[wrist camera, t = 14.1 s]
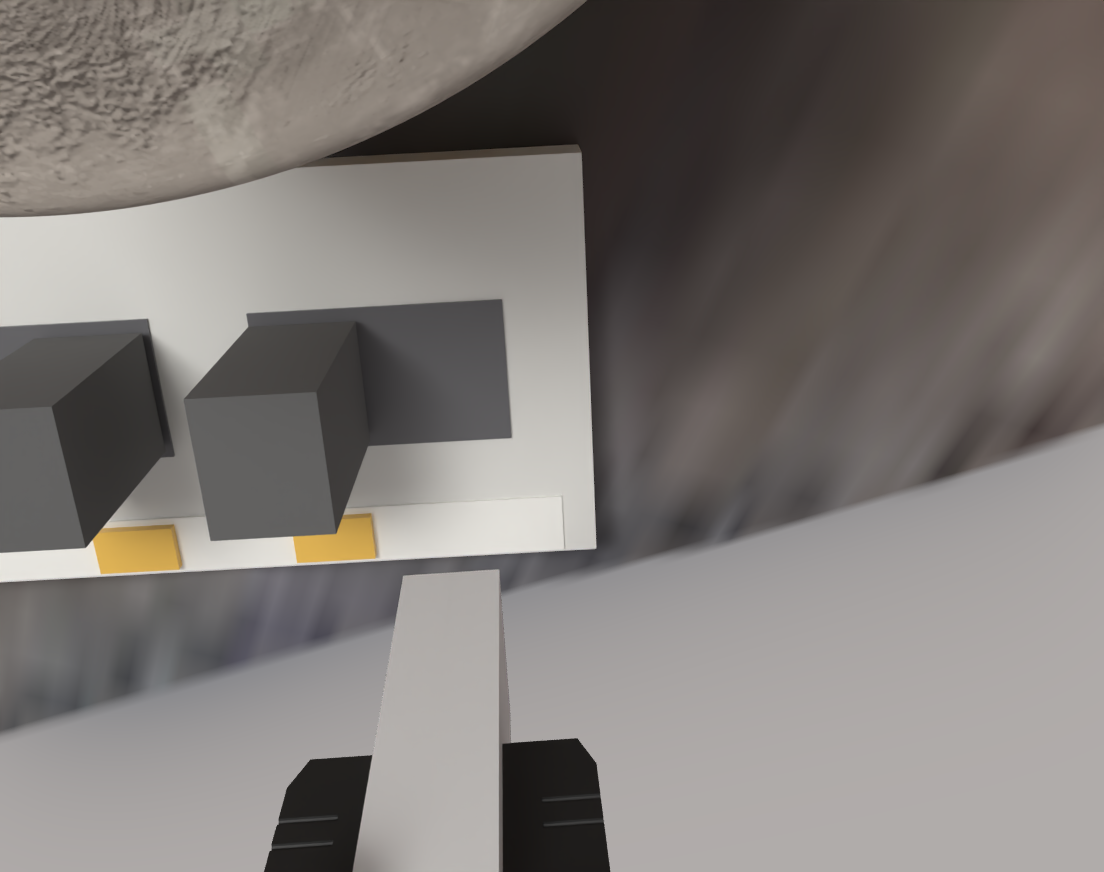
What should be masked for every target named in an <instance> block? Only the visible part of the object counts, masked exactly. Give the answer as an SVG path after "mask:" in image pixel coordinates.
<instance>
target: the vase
mask: <svg viewBox="0 0 1104 872" xmlns="http://www.w3.org/2000/svg"><path fill="white" fill-rule="evenodd" d="M586 1H587V0H0V217H38V216H56V215H70V214H82V213H92V212H101V211H110V210H118V209H125V208H132V207H138V206H145V205H151V204H156V203H162V202H168V201H173V200H178V199H182V198H187V197H192V196H196V195H201V194H205V193H210V192H214V191H218V190H222V189H226V188H230V187H234V186H237V185H241V184H245V183H248V182H252V181H255V180H259V179H262V178H265V177H268V176H272V175H275V174H278V173H281V172H284V171H287V170H290V169H293V168H296V167H299V166H302V165H304V164H307V163H310V162H313V161H315V160H318V159H321V158H323V157H326V156H329V155H331V154H334V153H336V152H339V151H341V150H343V149H346V148H348V147H351V146H353V145H355V144H358V143H360V142H362V141H365V140H367V139H369V138H371V137H373V136H375V135H378V134H380V133H382V132H384V131H386V130H388V129H390V128H392V127H394V126H397V125H399V124H401V123H403V122H405V121H407V120H409V119H411V118H413V117H415V116H417V115H418V114H420V113H422V112H424V111H426V110H428V109H430V108H432V107H433V106H435V105H437V104H439V103H441V102H442V101H444V100H446V99H448V98H449V97H451V96H453V95H455V94H456V93H458V92H460V91H461V90H463V89H465V88H466V87H468V86H470V85H471V84H473V83H474V82H476V81H478V80H479V79H481V78H483V77H484V76H486V75H487V74H489V73H490V72H492V71H493V70H495V69H496V68H498V67H499V66H501V65H502V64H504V63H505V62H507V61H508V60H510V59H511V58H513V57H514V56H516V55H517V54H518V53H520V52H521V51H523V50H524V49H525V48H527V47H528V46H530V45H531V44H532V43H534V42H535V41H536V40H538V39H539V38H541V37H542V36H543V35H545V34H546V33H547V32H548V31H550V30H551V29H552V28H554V27H555V26H556V25H558V24H559V23H560V22H561V21H563V20H564V19H565V18H566V17H568V16H569V15H570V14H571V13H573V12H574V11H575V10H576V9H577V8H579V7H580V6H581V5H582V4H583V3H585V2H586Z"/></svg>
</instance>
